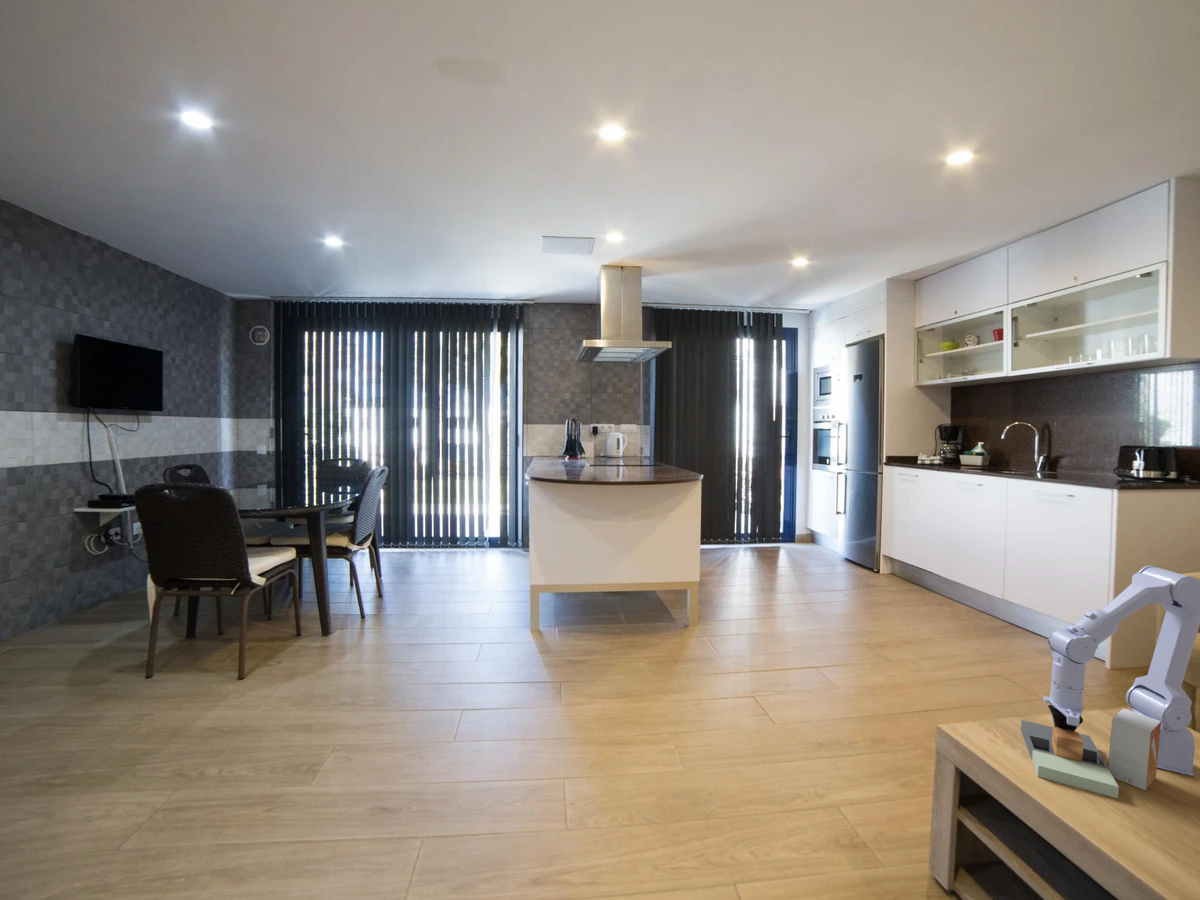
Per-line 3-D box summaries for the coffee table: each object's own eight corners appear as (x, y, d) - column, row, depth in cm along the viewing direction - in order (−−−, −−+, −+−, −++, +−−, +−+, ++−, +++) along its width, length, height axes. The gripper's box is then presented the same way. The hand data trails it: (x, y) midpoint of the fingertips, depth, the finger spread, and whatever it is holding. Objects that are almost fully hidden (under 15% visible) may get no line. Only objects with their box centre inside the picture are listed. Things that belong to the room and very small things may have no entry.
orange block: (1076, 751, 124) (1078, 732, 124) (1082, 762, 120) (1083, 742, 120) (1051, 745, 126) (1053, 726, 126) (1055, 755, 122) (1057, 736, 122)
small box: (1146, 792, 114) (1151, 732, 114) (1106, 775, 120) (1111, 717, 119) (1157, 778, 119) (1162, 720, 118) (1117, 762, 124) (1122, 707, 123)
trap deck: (1088, 746, 130) (1089, 735, 130) (1117, 798, 112) (1118, 786, 112) (1020, 729, 137) (1021, 719, 137) (1037, 776, 119) (1038, 765, 118)
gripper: (1039, 667, 134) (1035, 721, 135) (1052, 692, 121) (1047, 751, 122) (1076, 674, 130) (1072, 729, 131) (1093, 701, 118) (1089, 762, 118)
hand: (1063, 741), depth 126 cm, fingers closed
